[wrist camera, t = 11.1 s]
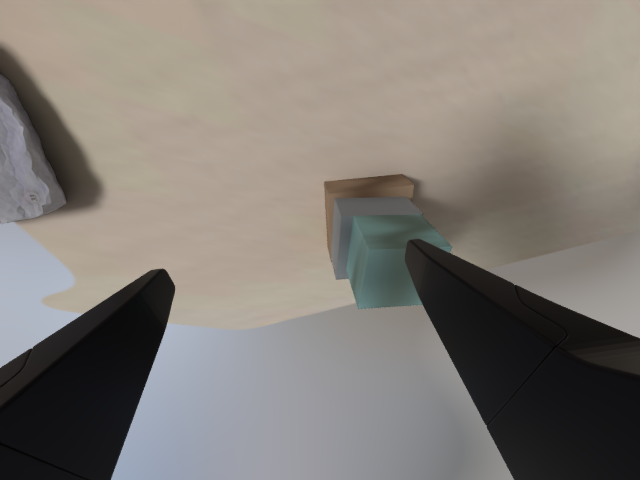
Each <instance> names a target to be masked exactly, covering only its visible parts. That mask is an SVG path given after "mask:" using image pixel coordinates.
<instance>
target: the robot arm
mask: <svg viewBox="0 0 640 480" xmlns="http://www.w3.org/2000/svg"><path fill="white" fill-rule="evenodd" d="M405 263H406V266H407V268H408V271H409V274H410V276H411V279H412V281H413V284H414V287H415V289H416V292H417V294H418V296H419V298H420V300H421V302H422V304H423V306H424V308H425V310H426V312H427V314H428V316H429V317H430V320H431V321H432V323H433V325H434V327H435V329H436V331H437V333H438V335H439V337H440V339H441V341H442V343H443V344H444V346H445V348H446V350H447V352H448V354H449V356H450V358H451V360H452V362H453V364H454V365H455V367H456V369H457V371H458V373H459V375H460V377H461V379H462V381H463V383H464V385H465V386H466V388H467V390H468V392H469V394H470V396H471V398H472V400H473V402H474V404H475V405H476V407H477V409H478V411H479V413H480V415H481V417H482V419H483V421H484V423H485V424H486V425H487V429H488V431H489V433H490V435H491V436H492V438H493V440H494V442H495V444H496V446H497V448H498V450H499V452H500V453H501V455H502V457H503V459H504V461H505V463H506V464H507V467H508V469H509V471H510V473H511V475H512V476H513V478H514V480H640V338H638V337H635V336H632V335H630V334H627V333H625V332H623V331H620V330H618V329H615V328H613V327H611V326H608V325H606V324H603V323H601V322H599V321H596V320H594V319H591V318H589V317H587V316H585V315H582V314H580V313H577V312H575V311H573V310H570V309H568V308H566V307H563V306H561V305H558V304H556V303H554V302H552V301H549V300H547V299H545V298H543V297H541V296H538V295H536V294H534V293H532V292H530V291H528V290H526V289H524V288H522V287H520V286H517V285H515V286H514V284H513V283H511V282H509V281H507V280H505V279H503V278H501V277H499V276H496V275H494V274H492V273H490V272H488V271H486V270H484V269H482V268H480V267H478V266H476V265H474V264H471V263H469V262H467V261H465V260H463V259H461V258H459V257H457V256H455V255H453V254H451V253H449V252H446V251H444V250H442V249H440V248H438V247H436V246H434V245H432V244H430V243H428V242H426V241H424V240H421V239H410V240H408V242H407V246H406V252H405ZM174 293H175V285H174V283H173V281H172V280H171V278H170V276H169V274H168V273H167V271H166V270H165V269H155V270H151V271H149V272H147V273H146V274H144V275H143V276H141V277H140V278H138V279H137V280H135V281H133V282H132V283H130V284H129V285H127V286H126V287H124V288H123V289H121V290H120V291H118V292H117V293H115V294H113V295H112V296H110V297H109V298H107V299H106V300H104V301H103V302H101V303H100V304H98V305H97V306H95V307H94V308H92V309H90V310H89V311H87V312H86V313H84V314H83V315H81V316H80V317H78V318H77V319H75V320H74V321H72V322H70V323H69V324H67V325H66V326H64V327H63V328H61V329H60V330H58V331H57V332H55V333H54V334H52V335H50V336H49V337H48V338H46V339H44V340H43V341H41V342H40V343H38V344H37V345H35V346H34V347H33V349H29V350H27V351H26V352H25V353H23V354H21V355H20V356H18V357H17V358H15V359H13V360H12V361H10V362H9V363H7V364H6V365H4V366H2V367H1V368H0V480H111V477H112V474H113V472H114V469H115V466H116V464H117V461H118V458H119V455H120V453H121V450H122V447H123V445H124V441H125V439H126V436H127V433H128V431H129V428H130V425H131V423H132V420H133V417H134V414H135V412H136V409H137V406H138V404H139V401H140V398H141V395H142V392H143V390H144V387H145V384H146V382H147V379H148V376H149V373H150V371H151V368H152V365H153V362H154V360H155V357H156V354H157V352H158V348H159V346H160V343H161V340H162V338H163V335H164V332H165V329H166V325H167V322H168V318H169V314H170V310H171V305H172V301H173V297H174Z"/></svg>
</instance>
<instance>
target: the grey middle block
mask: <svg viewBox="0 0 640 480" xmlns="http://www.w3.org/2000/svg"><path fill="white" fill-rule="evenodd" d="M417 214H421V215H422V216H423V213H422V212H421V211H420V210H419V209H418V208H417V207H416V206H415V205H414V204H413V203H412V202H411V201H410V200H409V199H408V198H407V197H367V198H334V215H333V231H332V247H331V260H332V264H333V268H334V273H335V277H336V280H337V279H349V277H348V274H347V271H346V269H347V261H348V253H349V246H350V238H351V230H352V223H353V216H369V215H417Z"/></svg>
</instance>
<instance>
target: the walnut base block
mask: <svg viewBox="0 0 640 480" xmlns="http://www.w3.org/2000/svg"><path fill="white" fill-rule="evenodd" d="M324 188H325V207H326V226H327V245H328V250H329V255H330V259H331V247H332V231H333V215H334V198H367V197H407V198H408V199H409V200H410V201H411V202H412V197H413V191H414V184H413V183H412V182H410V181H409V180H408V179H407V178H406V177H405V176H403V175H402V174H398V175H388V176H378V177H368V178H358V179H348V180H337V181H327V182H324ZM331 262H332V260H331Z"/></svg>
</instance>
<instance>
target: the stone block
mask: <svg viewBox="0 0 640 480" xmlns="http://www.w3.org/2000/svg"><path fill="white" fill-rule="evenodd" d="M64 204H66V199H65V195H64V193H63V189H62V188H61V186H60V185H59V183H58V182H57V180H56V176H55V173H54V171H53V170H52V167H51V165H50V163H49V162H48V161H47V160H46V158H45V155H44V151H43V149H42V146H41V143H40V138H39V136H38V134H37V133H36V131H35V130H34V128H33V126H32V124H31V121H30V119H29V116H28V115H27V113H26V111H25V110H24V108H23V107H22V105H21V103H20V101H19V99H18V96H17V94H16V91H15V89H14V87H13V86H12V84H11V83H10V81H9V80H8V79H7V78H5V77H4V76H3V75H2V74H0V224H3V223H8V222H13V221H18V220H25V219H32V218H35V217H39V216H42V215H45V214H48V213H51V212H53V211H56V210H57V209H58V208H60V207H62V206H63V205H64Z"/></svg>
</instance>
